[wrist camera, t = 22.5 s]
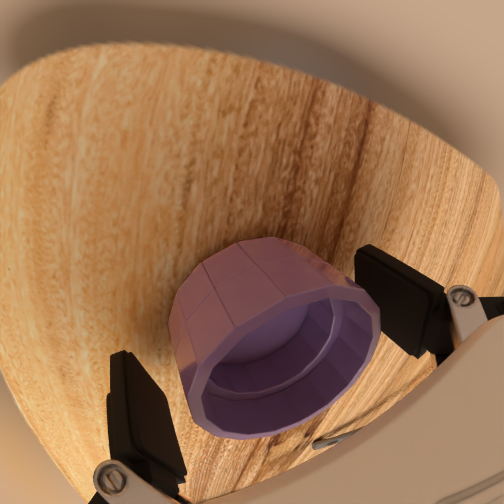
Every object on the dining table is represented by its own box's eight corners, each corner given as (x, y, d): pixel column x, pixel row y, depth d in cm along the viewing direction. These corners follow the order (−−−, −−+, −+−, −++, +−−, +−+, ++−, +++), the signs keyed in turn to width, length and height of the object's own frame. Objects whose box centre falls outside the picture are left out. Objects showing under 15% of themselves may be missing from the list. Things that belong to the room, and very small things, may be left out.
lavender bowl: (153, 363, 10) (170, 444, 7) (196, 211, 9) (236, 264, 5) (282, 368, 13) (322, 425, 10) (341, 253, 12) (408, 298, 8)
